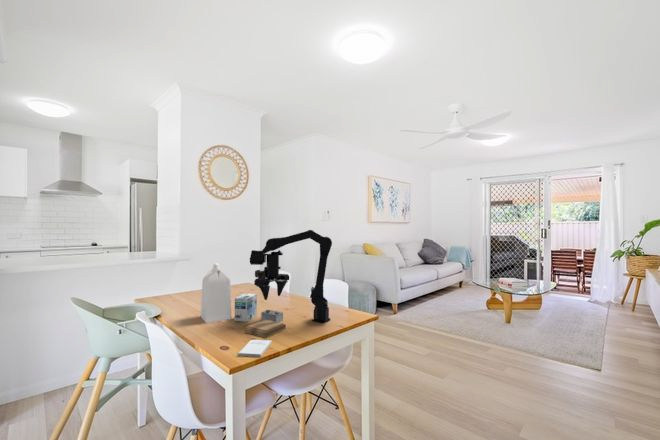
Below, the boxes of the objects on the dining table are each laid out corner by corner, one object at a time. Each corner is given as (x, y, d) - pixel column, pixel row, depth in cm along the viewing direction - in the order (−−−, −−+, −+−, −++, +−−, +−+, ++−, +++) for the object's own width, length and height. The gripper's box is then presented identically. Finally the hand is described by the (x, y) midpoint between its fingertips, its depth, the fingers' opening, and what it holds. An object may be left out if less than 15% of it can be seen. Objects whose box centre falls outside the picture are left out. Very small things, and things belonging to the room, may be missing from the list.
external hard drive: (237, 357, 101) (250, 343, 113) (260, 359, 100) (271, 344, 112) (237, 353, 101) (250, 339, 113) (260, 354, 100) (271, 340, 112)
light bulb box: (247, 322, 136) (247, 298, 137) (233, 321, 138) (234, 298, 138) (257, 315, 147) (257, 293, 147) (244, 314, 148) (245, 293, 149)
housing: (282, 321, 139) (283, 311, 139) (275, 324, 135) (276, 313, 135) (268, 317, 144) (268, 308, 144) (261, 320, 139) (261, 310, 140)
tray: (285, 329, 127) (285, 323, 128) (266, 337, 117) (266, 331, 117) (264, 324, 134) (264, 318, 134) (244, 332, 123) (244, 326, 123)
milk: (231, 318, 141) (232, 264, 142) (206, 323, 135) (206, 266, 135) (224, 312, 151) (225, 261, 152) (200, 316, 145) (201, 263, 145)
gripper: (272, 261, 152) (272, 292, 152) (245, 265, 136) (245, 299, 136) (290, 263, 146) (289, 294, 146) (263, 267, 130) (263, 303, 130)
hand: (272, 297), depth 139 cm, fingers open, 9 cm apart
